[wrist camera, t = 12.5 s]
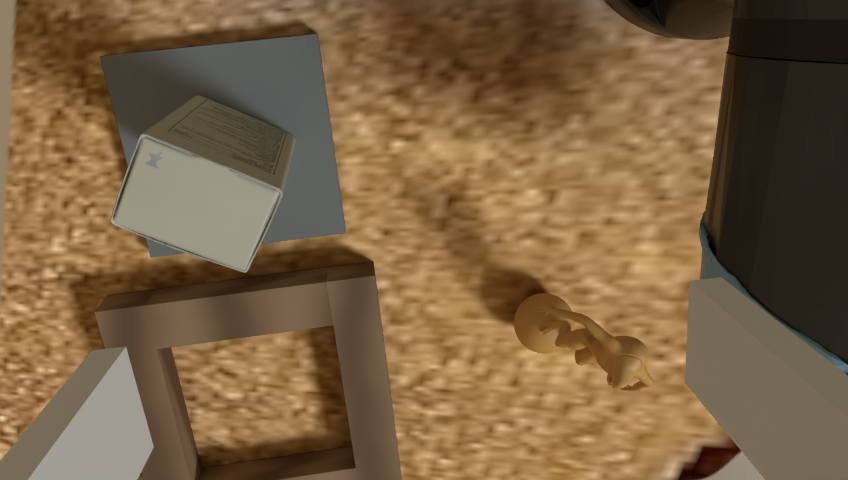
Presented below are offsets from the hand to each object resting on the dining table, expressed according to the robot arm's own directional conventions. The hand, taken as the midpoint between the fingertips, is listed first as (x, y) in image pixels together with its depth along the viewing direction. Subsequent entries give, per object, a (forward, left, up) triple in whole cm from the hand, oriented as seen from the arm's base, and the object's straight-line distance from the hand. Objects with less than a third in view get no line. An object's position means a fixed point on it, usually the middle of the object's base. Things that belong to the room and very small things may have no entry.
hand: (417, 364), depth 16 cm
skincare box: (+8, -1, -26) cm, 28 cm away
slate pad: (+9, -1, -27) cm, 28 cm away
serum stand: (+10, +16, -27) cm, 33 cm away
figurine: (-10, +12, -27) cm, 32 cm away
